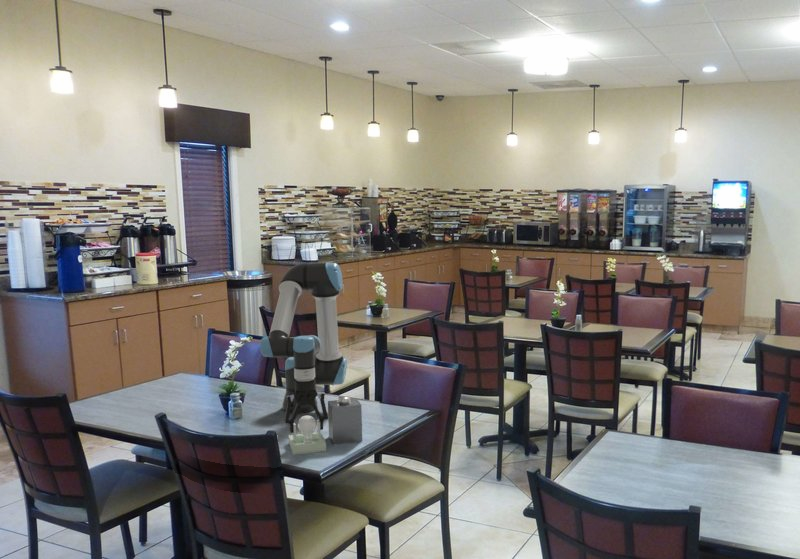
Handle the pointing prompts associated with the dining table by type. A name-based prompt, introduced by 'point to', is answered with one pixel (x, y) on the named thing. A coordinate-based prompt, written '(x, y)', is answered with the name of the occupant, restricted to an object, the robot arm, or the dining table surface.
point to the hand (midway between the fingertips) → (307, 439)
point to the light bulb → (307, 427)
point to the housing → (345, 420)
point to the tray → (307, 444)
